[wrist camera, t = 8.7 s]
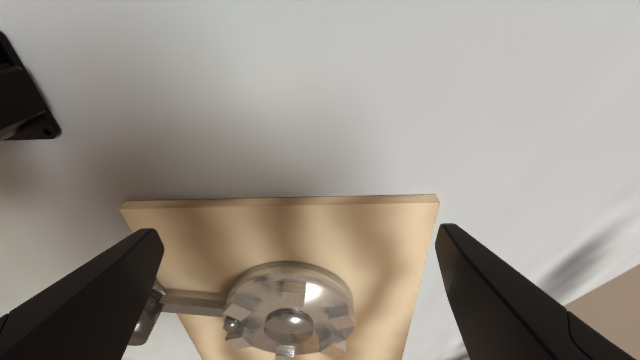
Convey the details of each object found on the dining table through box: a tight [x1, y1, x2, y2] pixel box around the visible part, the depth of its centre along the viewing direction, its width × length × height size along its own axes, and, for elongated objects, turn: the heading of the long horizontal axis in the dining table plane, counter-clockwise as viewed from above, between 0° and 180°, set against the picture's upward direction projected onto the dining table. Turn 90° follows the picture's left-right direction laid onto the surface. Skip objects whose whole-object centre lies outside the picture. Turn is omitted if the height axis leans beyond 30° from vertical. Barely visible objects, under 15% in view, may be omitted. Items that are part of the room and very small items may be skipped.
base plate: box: [119, 194, 440, 360], centre depth 28 cm, size 30×24×2 cm
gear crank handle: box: [128, 261, 356, 360], centre depth 26 cm, size 20×12×4 cm, turn 82°
